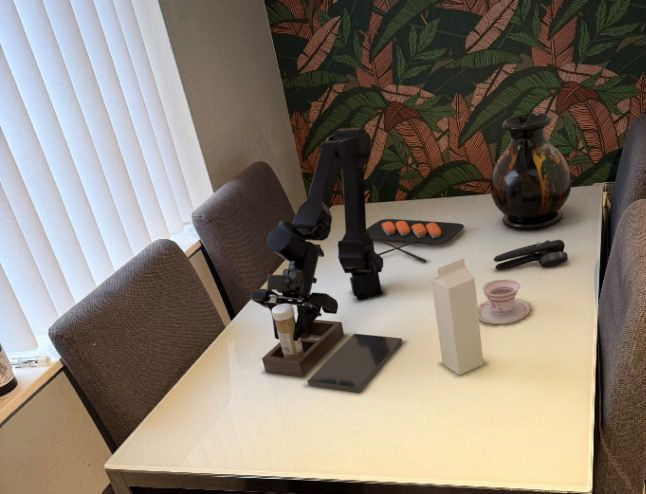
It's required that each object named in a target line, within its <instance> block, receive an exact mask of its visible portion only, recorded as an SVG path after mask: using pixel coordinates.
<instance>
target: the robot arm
mask: <svg viewBox="0 0 646 494" xmlns="http://www.w3.org/2000/svg"><path fill="white" fill-rule="evenodd" d="M371 145H372V138H371V135H370V133H369V132H368V131H367V130H366V128H365V127H352V128H351V127H350V128H349V127H348V128H339V129H337V130H336V131H335V133H334V134H332V135H329V136H328V137H326V139H325V141H322V142H321V143H320V144H319V148H318V153H319V156H318V160H317V163H316V166H315V171H314V174H313V178H312V181H311V184H310V188H309V191H308V195H307V197H306V200H305V201H304V202H303V203H302V204H301V205H300V206H299V207H298V209H297V211H296V214H295V216H294V218H293V220H292V221H291V222H290V221H289V220H280V221H279V222H278V225H277V226H276V227H274V228H273V229H272V230H271V231H270V232H269V234H268V235H267V236H266V237H267V238H266V245H267V247H268V249H269V250H270V251H272V252H273V253H274V254H276V255H278V256H279V257H281V258H282V259H283V260H285V261H287V262H289V263H288V267H287V268H283V270H282V273H281V274H267V279H266V282H267V283H266V285H267V286H266V288H258V287H257V288H256V289H254V290H253V291H252V295H251V299H250V300H251V301H252V302H254V303H256V304H258V305H260V306H262V307H264V308H267V309H269V311H270V313H271V318H272V324H273V325H272V327H273V335H274V339H276V340H279V336H278V332H277V327H276V323H275V321H274V319H273V316H272V309H273V308H274V307H275V306H277V305H280V304H291V305H292V306H296V310H297V311H296V312H297V316H296V320H295V321H296V325H295V329H294V334H293V340H294V341H298V339H299V338H300V337H301V335H302V334H303V333H304V332H305V330H306V329H307V328H308V327H309V325H310V324H311V323H312V322H313V321H314V320H317V318H318V317H322V313H321V311H323V313H325V314H331V315H336V314H338V308H339V303H338V300H337V299H335V298H334V297H333V296H331V295H329V294H328V293H325V292H311V291H312V287H313V284H315V285H316V284H317V281H318V278H316V277H315V275H316V270H317V265H318V262H319V257H320V258H321V257H322V258H324V257H325V252H324V250H323V249H322V247H321V244H318V243H317V244H316V243H313V242H311V241H318V242H319V241H320V242H321V241H323V242H324V241H325V240H327V239H328V238H329V236H330V234H331V231H332V221H333V216H332V214H331V209H330V206H331V201H332V198H333V194H334V190H335V187H336V184H337V180H338V177H339V173H340V168H341V173H342V190H343V208H344V210H343V211H344V227H345V228H344V229H345V231H344V235H343V237H342V239H341V240H338V241H337V250H338V254H337V255H338V256H337V258H338V261H339V264H340V265H341V268H342V271H343V272H344V274H351V276H350V277H349V282H350V286H351V291H352V293H353V294H352V295H353V297H356V299H357V301H364V300H367V299H371V298H375V297H379V296H383V295H384V291H383V289H382V285H381V279H380V275H379V274H380V273H381V272H383V268H384V258H383V257H382V255H380V256H379V255H378V254H379V253H377V252H376V251H375V244H374V241H373V240H372V239H371V238H370V236H369V235H368V233H367V231H366V229H367V215H366V213H367V212H366V195H365V194H366V192H365V172H364V171H365V166H366V164H367V162H368V160H369V158H370V156H371Z"/></svg>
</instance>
